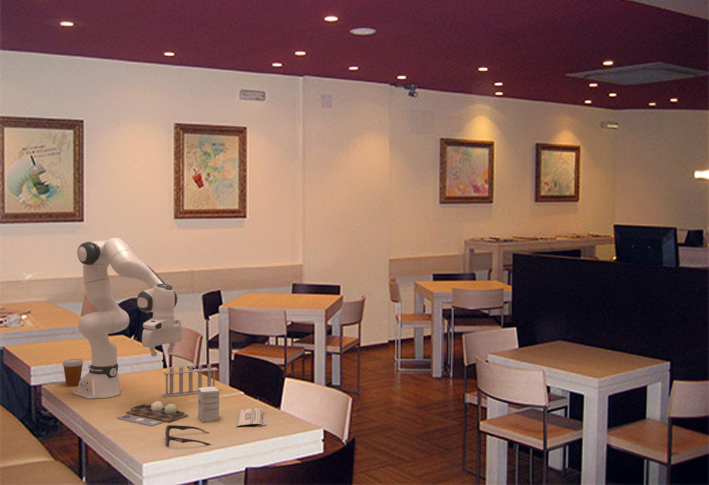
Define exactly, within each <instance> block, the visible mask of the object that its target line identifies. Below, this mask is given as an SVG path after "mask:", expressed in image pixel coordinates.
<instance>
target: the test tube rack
mask: <svg viewBox="0 0 709 485" xmlns="http://www.w3.org/2000/svg"><path fill="white" fill-rule="evenodd" d="M193 368H194V367H193V365H188V369H184V366H179V367H178V369H179V370H174V367H173V366H171V367H169V371H162V373H163V375H165V393H162V397H164V398H174V397H183V396H184V397H185V396H193V395H194V396H195V395H198V388H203V372H207V376H206V377H207V378H206V379H207V380H206V381H207V382H206V383H207V386H206V387H216V382H215V381H216V380H215V379H216V374H215V373H216V371H219V370H218V369H219V368H217V367H212V364H211V363H208V364H207V368H206V367H205V368H203V365H202V364H198V365H197V368H196V369H193ZM193 373H197V383H198V384H197V390H193V380H194V379H193ZM184 374H188V391H184ZM168 375H169V376H168ZM174 375H178V376H179V377H178V378H179V379H178V383H179V384H178V385H179V387H178V388H179V389H178V390H179V391H178V392H174ZM168 378H169V379H168ZM168 381H169V382H168ZM168 385H169V386H168ZM168 387H169V390H168ZM168 391H169V393H168Z"/></svg>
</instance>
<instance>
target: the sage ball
mask: <svg viewBox="0 0 709 485" xmlns="http://www.w3.org/2000/svg"><path fill="white" fill-rule="evenodd" d="M164 408H165V410H164V411H165V414H166V415H170V416H172V415H175V414H176V412H177V410H178V408H177V405H176V404H173V403H169V404H167V405H166V406H165V407H164Z"/></svg>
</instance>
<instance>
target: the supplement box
mask: <svg viewBox="0 0 709 485" xmlns="http://www.w3.org/2000/svg"><path fill="white" fill-rule="evenodd" d="M197 390H198V394H197V395H198V396H197V398H198V400H197V402H198V403H197V407H198V408H197V411H198V412H197V413H198V414H197V415H198V416H197V417H198V419H199V420H200V421H201V423H208V422H217V421H220V390H219V389H218V388H217V387H216V386H215V387H213V386H211V387H207V386H205V387H204V386H202V388H198V387H197Z"/></svg>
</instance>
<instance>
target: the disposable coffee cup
mask: <svg viewBox="0 0 709 485" xmlns="http://www.w3.org/2000/svg"><path fill="white" fill-rule="evenodd" d="M62 362H63V363H62V367H63V373H64V379H65V386H66V387H68V388H69V387H70V388H71V387H79V381H80V380H81V379H82V372H83V365H84V360H83V359H82V358H81V359H80V358H69V359H65V360H63V361H62Z"/></svg>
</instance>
